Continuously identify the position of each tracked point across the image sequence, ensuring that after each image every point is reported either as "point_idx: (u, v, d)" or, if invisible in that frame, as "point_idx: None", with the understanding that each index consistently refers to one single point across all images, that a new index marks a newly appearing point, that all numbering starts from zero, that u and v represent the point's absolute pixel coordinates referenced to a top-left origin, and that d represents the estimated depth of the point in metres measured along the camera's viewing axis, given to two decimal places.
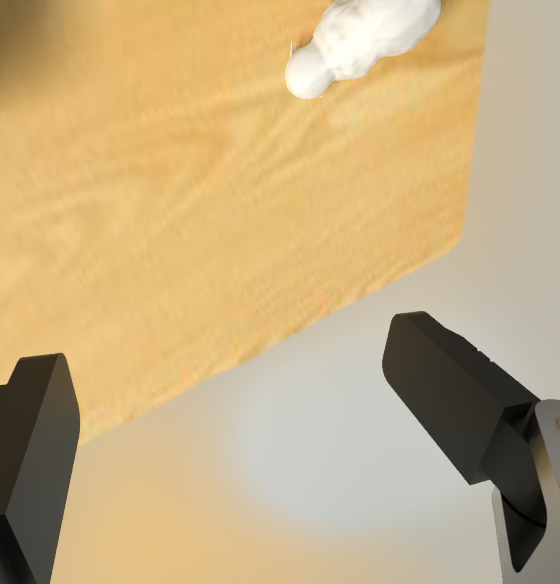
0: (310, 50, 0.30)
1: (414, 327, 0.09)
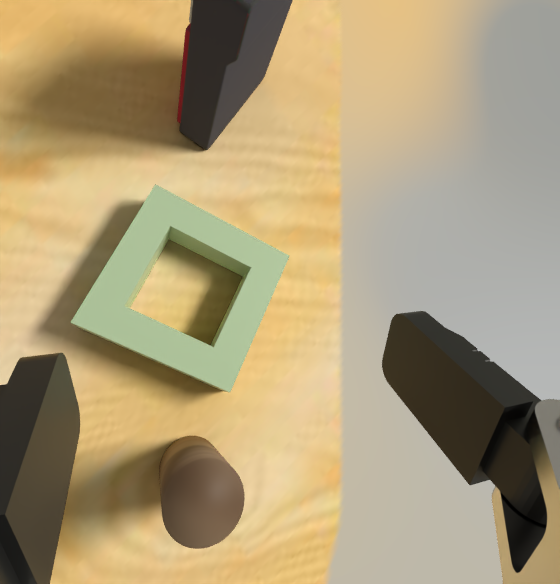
0: None
1: (414, 327, 0.09)
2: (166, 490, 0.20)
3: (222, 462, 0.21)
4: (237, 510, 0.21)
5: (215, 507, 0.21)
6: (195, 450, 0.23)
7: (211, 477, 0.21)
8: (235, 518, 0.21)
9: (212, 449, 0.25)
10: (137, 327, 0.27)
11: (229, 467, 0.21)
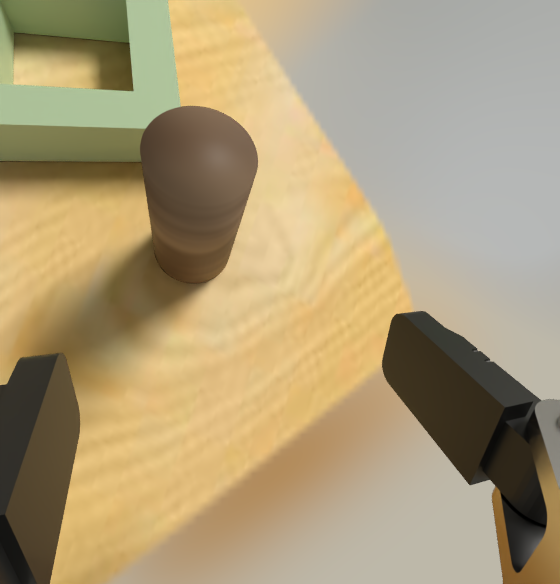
0: None
1: (414, 327, 0.09)
2: (141, 155, 0.14)
3: (197, 107, 0.15)
4: (249, 150, 0.15)
5: (219, 154, 0.15)
6: None
7: (192, 125, 0.15)
8: (252, 158, 0.15)
9: None
10: (22, 100, 0.20)
11: (209, 109, 0.15)
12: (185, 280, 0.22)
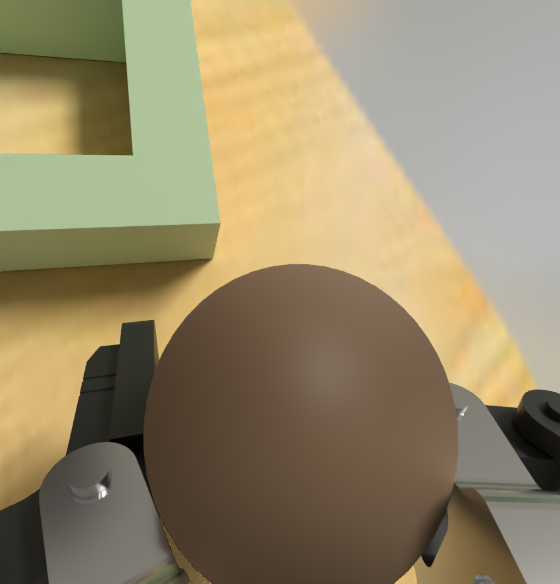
0: None
1: None
2: (148, 458, 0.04)
3: (293, 268, 0.06)
4: (431, 380, 0.06)
5: (363, 411, 0.05)
6: None
7: (286, 327, 0.05)
8: (441, 407, 0.06)
9: None
10: None
11: (324, 271, 0.06)
12: None
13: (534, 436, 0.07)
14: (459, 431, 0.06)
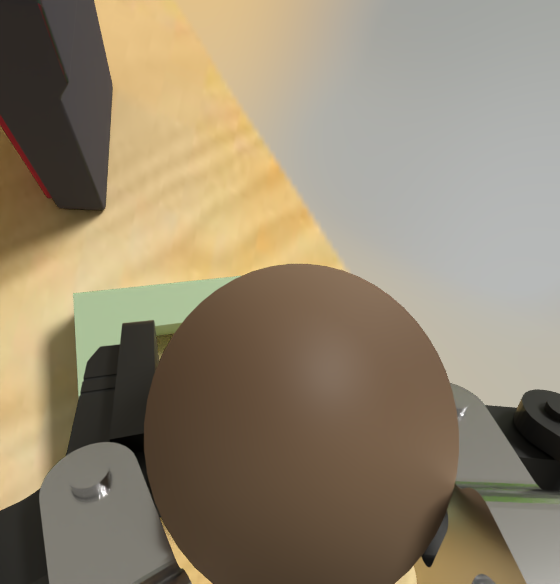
0: None
1: None
2: (149, 457, 0.04)
3: (294, 268, 0.06)
4: (431, 380, 0.06)
5: (363, 411, 0.05)
6: None
7: (287, 326, 0.05)
8: (442, 407, 0.06)
9: None
10: None
11: (325, 271, 0.06)
12: None
13: (534, 436, 0.07)
14: (459, 431, 0.06)
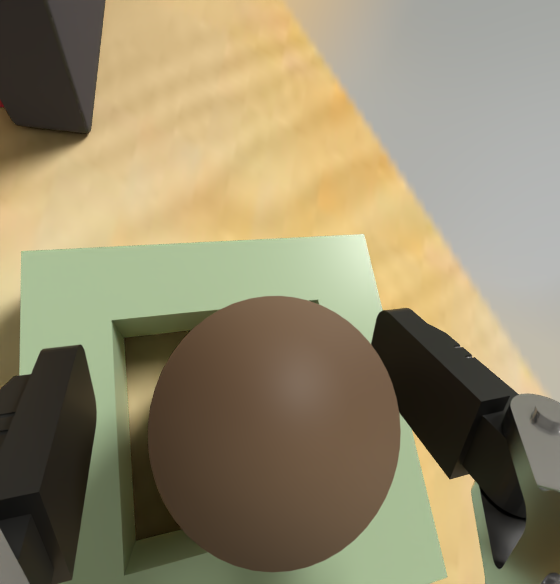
0: None
1: (398, 323, 0.09)
2: (151, 451, 0.06)
3: (268, 299, 0.07)
4: (379, 390, 0.07)
5: (322, 415, 0.07)
6: None
7: (261, 348, 0.07)
8: (387, 412, 0.07)
9: None
10: None
11: (294, 301, 0.07)
12: None
13: None
14: None
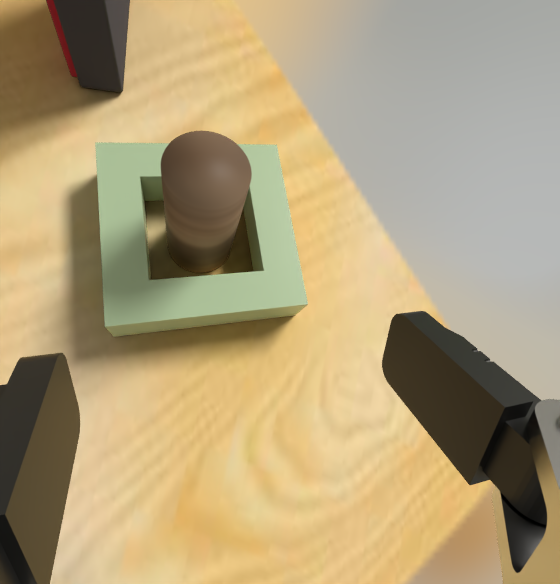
0: None
1: (414, 327, 0.09)
2: (162, 171, 0.18)
3: (204, 132, 0.19)
4: (244, 165, 0.19)
5: (221, 169, 0.19)
6: None
7: (200, 146, 0.19)
8: (247, 172, 0.19)
9: None
10: (177, 293, 0.22)
11: (213, 133, 0.19)
12: (193, 270, 0.26)
13: None
14: None
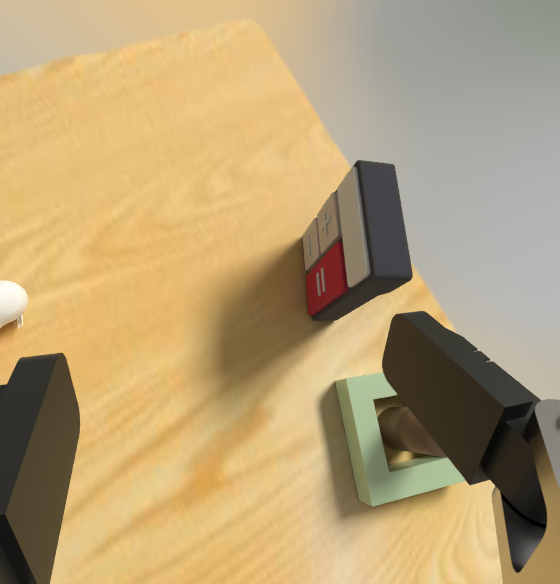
0: (1, 314, 0.32)
1: (414, 327, 0.09)
2: (428, 437, 0.33)
3: None
4: None
5: None
6: None
7: None
8: None
9: None
10: (405, 479, 0.37)
11: None
12: (396, 449, 0.41)
13: None
14: None
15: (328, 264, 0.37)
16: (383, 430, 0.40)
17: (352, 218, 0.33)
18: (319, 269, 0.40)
